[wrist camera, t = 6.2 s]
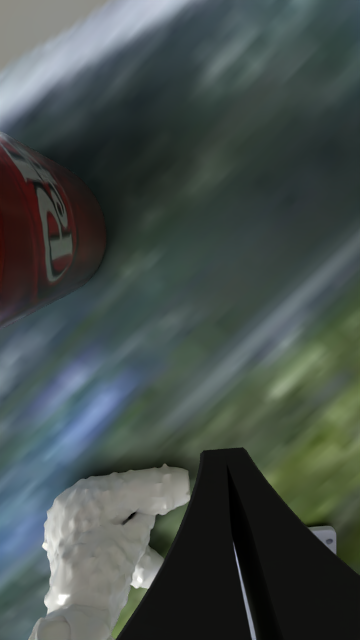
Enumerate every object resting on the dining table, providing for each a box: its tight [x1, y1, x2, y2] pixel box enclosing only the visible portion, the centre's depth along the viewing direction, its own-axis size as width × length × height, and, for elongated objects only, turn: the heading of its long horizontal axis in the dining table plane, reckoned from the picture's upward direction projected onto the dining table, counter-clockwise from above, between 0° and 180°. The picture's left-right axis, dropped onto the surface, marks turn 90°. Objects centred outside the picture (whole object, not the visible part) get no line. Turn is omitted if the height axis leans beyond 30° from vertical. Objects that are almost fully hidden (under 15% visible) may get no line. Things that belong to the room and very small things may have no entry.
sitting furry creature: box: [28, 464, 190, 640], centre depth 17 cm, size 10×9×12 cm
